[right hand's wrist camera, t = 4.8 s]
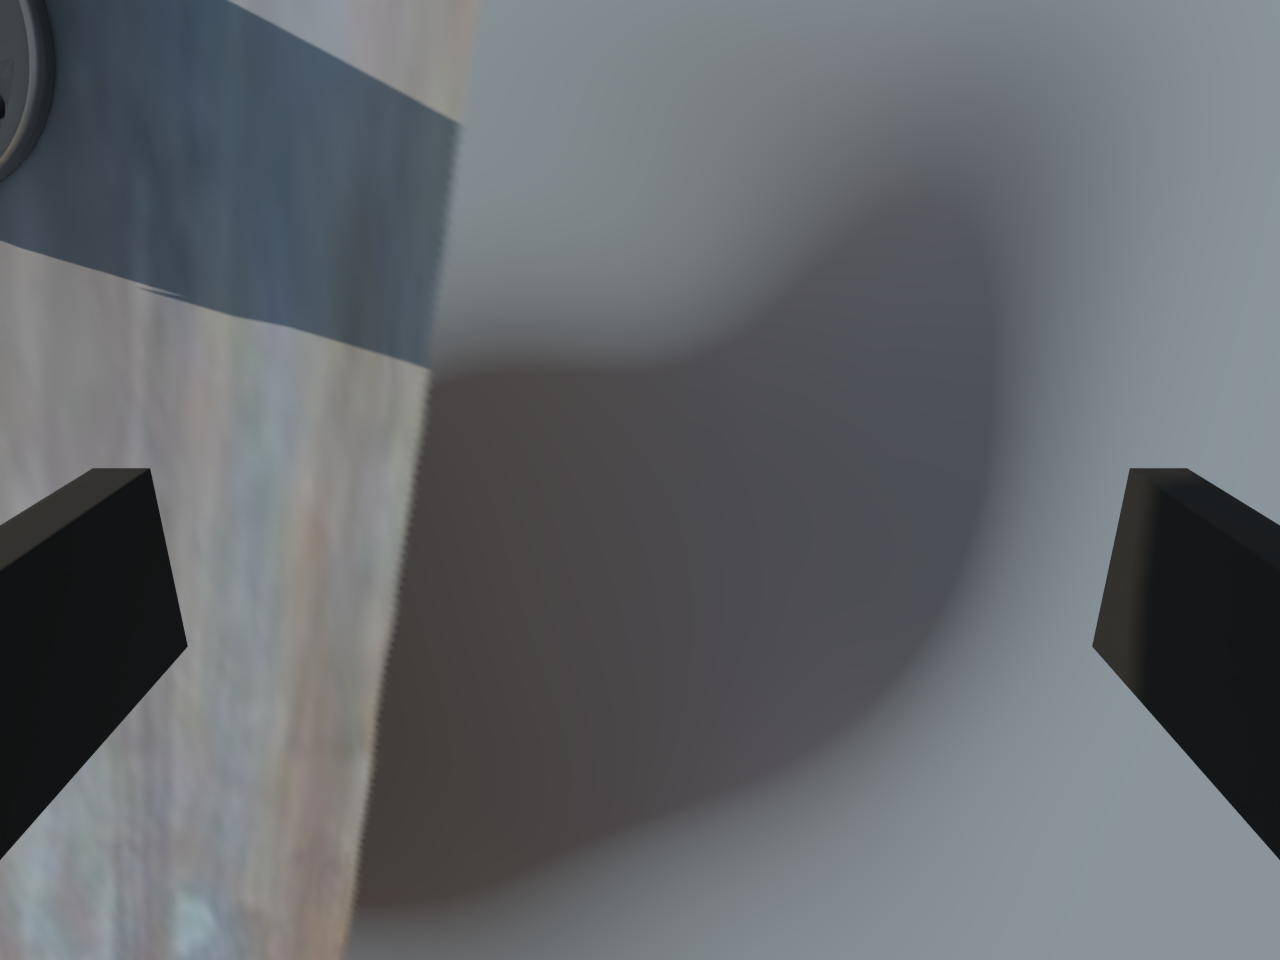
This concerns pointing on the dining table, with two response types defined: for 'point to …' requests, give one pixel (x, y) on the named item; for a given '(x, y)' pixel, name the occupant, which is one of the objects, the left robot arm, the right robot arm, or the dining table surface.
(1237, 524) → the right robot arm
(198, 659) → the dining table surface
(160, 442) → the dining table surface
